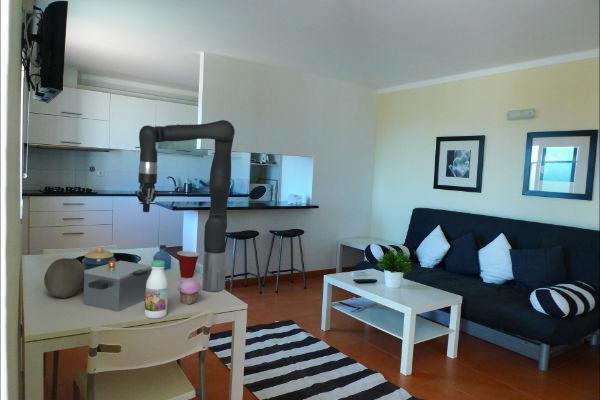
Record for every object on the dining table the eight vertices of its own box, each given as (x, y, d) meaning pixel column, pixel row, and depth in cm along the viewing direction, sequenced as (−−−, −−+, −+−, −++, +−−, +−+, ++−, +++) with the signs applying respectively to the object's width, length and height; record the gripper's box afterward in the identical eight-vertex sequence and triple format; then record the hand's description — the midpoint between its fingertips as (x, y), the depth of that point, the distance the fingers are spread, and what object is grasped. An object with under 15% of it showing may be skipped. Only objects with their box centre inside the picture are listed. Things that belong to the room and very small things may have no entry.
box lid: (158, 269, 167) (159, 262, 167) (126, 280, 149) (126, 272, 149) (120, 262, 172) (120, 255, 172) (84, 273, 154) (84, 265, 154)
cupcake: (189, 297, 171) (190, 274, 171) (204, 302, 167) (205, 278, 166) (172, 303, 164) (173, 278, 163) (188, 308, 159) (189, 283, 159)
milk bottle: (147, 311, 154) (150, 258, 152) (169, 311, 154) (171, 259, 153) (141, 318, 146) (144, 263, 144) (163, 319, 147) (166, 264, 145)
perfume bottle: (170, 268, 214) (171, 245, 213) (160, 270, 209) (161, 247, 208) (162, 266, 217) (163, 244, 216) (152, 268, 212) (154, 245, 211)
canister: (119, 288, 176) (121, 248, 175) (87, 294, 167) (89, 251, 165) (107, 281, 185) (108, 242, 184) (76, 286, 176) (77, 245, 174)
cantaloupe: (80, 301, 157) (82, 263, 156) (38, 302, 153) (39, 263, 152) (88, 290, 171) (89, 255, 170) (50, 291, 167) (51, 254, 166)
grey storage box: (151, 297, 169) (152, 268, 168) (112, 314, 148) (113, 281, 147) (119, 290, 173) (120, 262, 172) (76, 306, 152) (77, 274, 151)
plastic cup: (202, 278, 201) (203, 254, 200) (180, 280, 194) (182, 255, 193) (193, 272, 210) (194, 249, 209) (172, 274, 203) (173, 250, 202)
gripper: (145, 173, 171) (143, 214, 172) (164, 173, 184) (162, 211, 185) (130, 171, 173) (128, 212, 174) (150, 171, 186) (148, 210, 187)
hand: (146, 212), depth 180 cm, fingers closed
